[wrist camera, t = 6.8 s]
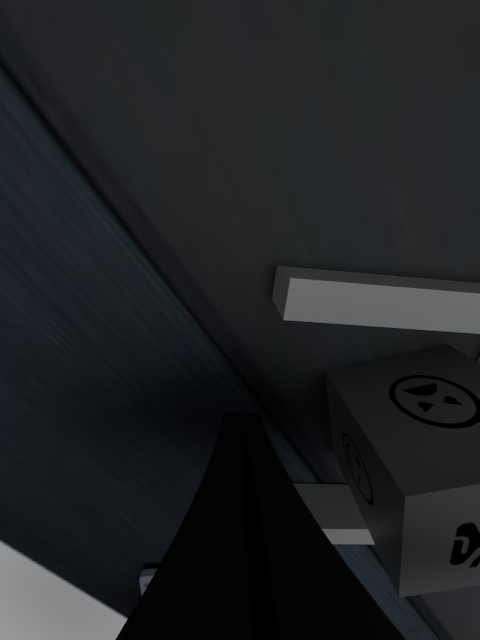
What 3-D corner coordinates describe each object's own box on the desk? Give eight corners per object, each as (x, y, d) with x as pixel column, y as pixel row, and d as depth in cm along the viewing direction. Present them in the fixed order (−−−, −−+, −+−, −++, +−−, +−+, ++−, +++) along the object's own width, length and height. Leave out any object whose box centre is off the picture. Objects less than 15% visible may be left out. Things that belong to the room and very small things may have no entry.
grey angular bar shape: (420, 500, 13) (451, 544, 12) (242, 496, 13) (244, 543, 11) (546, 288, 9) (632, 306, 7) (276, 265, 8) (290, 277, 6)
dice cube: (323, 369, 10) (405, 497, 5) (444, 343, 10) (643, 454, 5) (333, 450, 12) (398, 597, 7) (434, 431, 11) (571, 570, 7)
